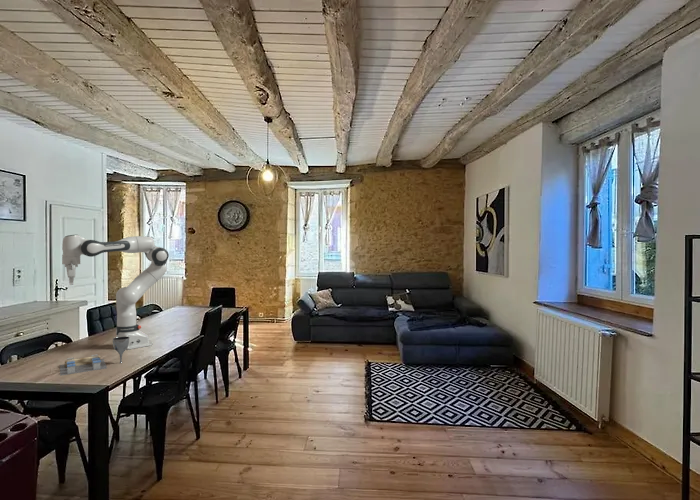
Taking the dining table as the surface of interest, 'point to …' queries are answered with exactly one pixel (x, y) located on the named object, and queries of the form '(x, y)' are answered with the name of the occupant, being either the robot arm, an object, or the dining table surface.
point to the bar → (81, 361)
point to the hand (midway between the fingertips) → (71, 284)
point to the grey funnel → (120, 345)
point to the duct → (82, 366)
